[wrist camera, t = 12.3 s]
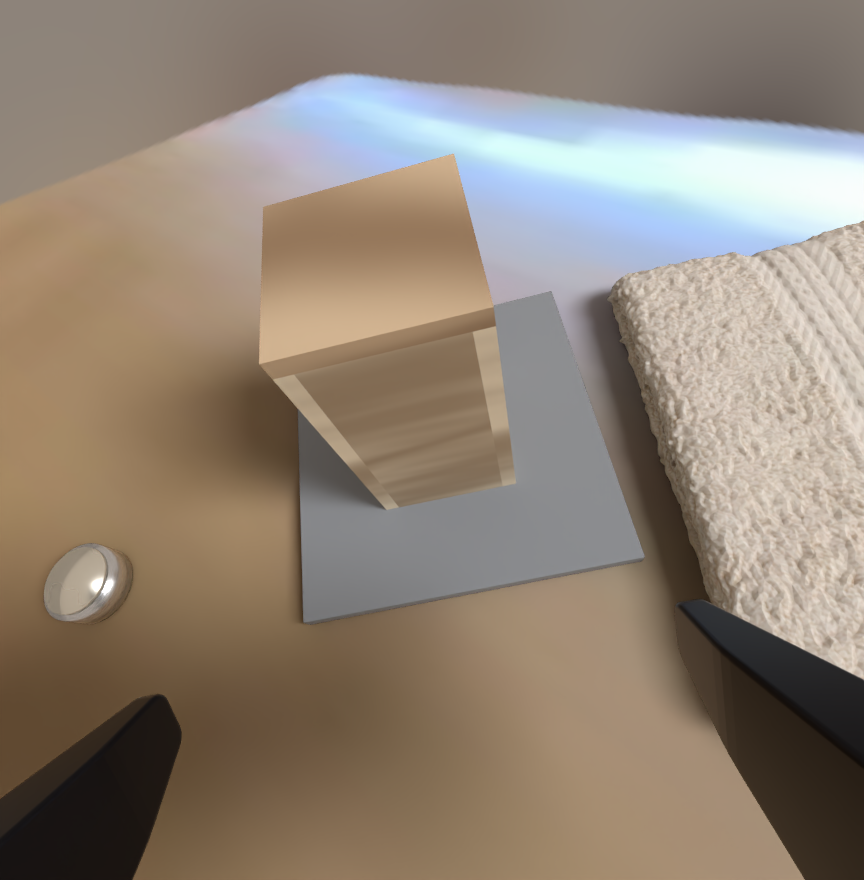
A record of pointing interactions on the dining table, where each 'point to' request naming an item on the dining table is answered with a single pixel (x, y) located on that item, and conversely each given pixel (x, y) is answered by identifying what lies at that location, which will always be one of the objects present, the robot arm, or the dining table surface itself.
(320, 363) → the beige tall block
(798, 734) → the robot arm
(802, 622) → the washcloth
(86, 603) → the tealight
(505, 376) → the mat
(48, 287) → the dining table surface
